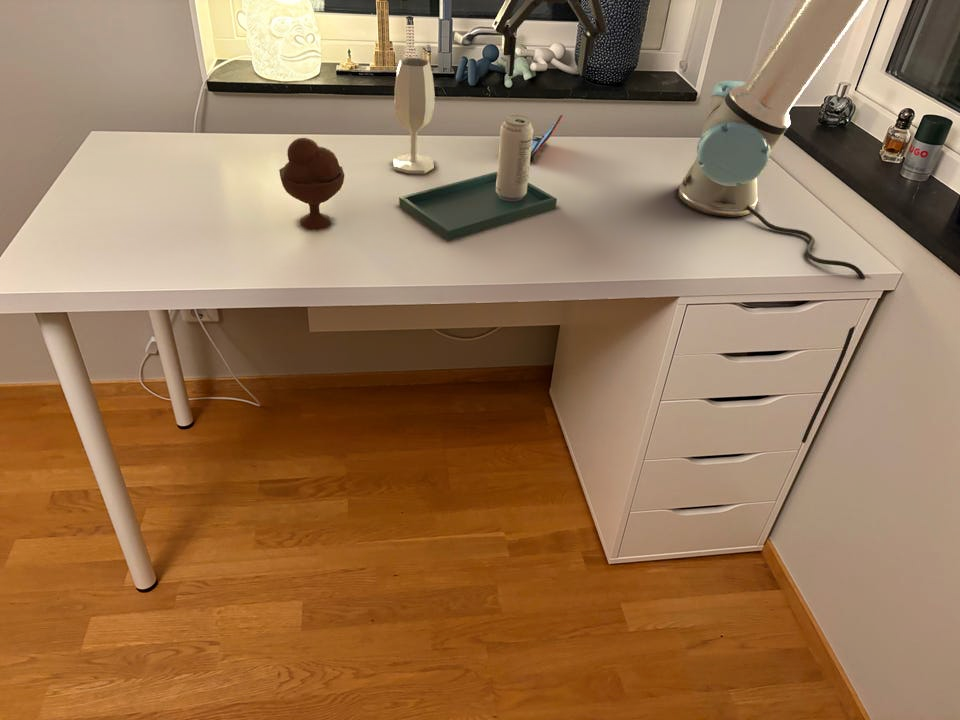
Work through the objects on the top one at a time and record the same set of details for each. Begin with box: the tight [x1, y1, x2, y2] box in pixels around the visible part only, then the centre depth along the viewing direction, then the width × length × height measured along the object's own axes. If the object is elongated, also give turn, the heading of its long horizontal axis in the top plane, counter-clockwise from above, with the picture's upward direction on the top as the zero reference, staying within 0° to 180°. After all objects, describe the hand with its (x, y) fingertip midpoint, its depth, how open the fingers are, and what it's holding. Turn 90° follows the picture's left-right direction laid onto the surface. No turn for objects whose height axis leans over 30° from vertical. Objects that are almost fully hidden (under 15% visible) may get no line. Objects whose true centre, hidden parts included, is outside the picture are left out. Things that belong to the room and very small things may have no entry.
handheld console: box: [530, 114, 563, 163], centre depth 165 cm, size 12×11×7 cm
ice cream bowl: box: [278, 137, 345, 231], centre depth 130 cm, size 11×11×15 cm
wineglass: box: [392, 56, 436, 175], centre depth 151 cm, size 9×9×21 cm
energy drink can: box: [496, 114, 534, 201], centre depth 143 cm, size 6×6×15 cm
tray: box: [398, 171, 558, 242], centre depth 143 cm, size 16×26×2 cm, turn 128°
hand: (545, 74), depth 137 cm, fingers open, 13 cm apart
